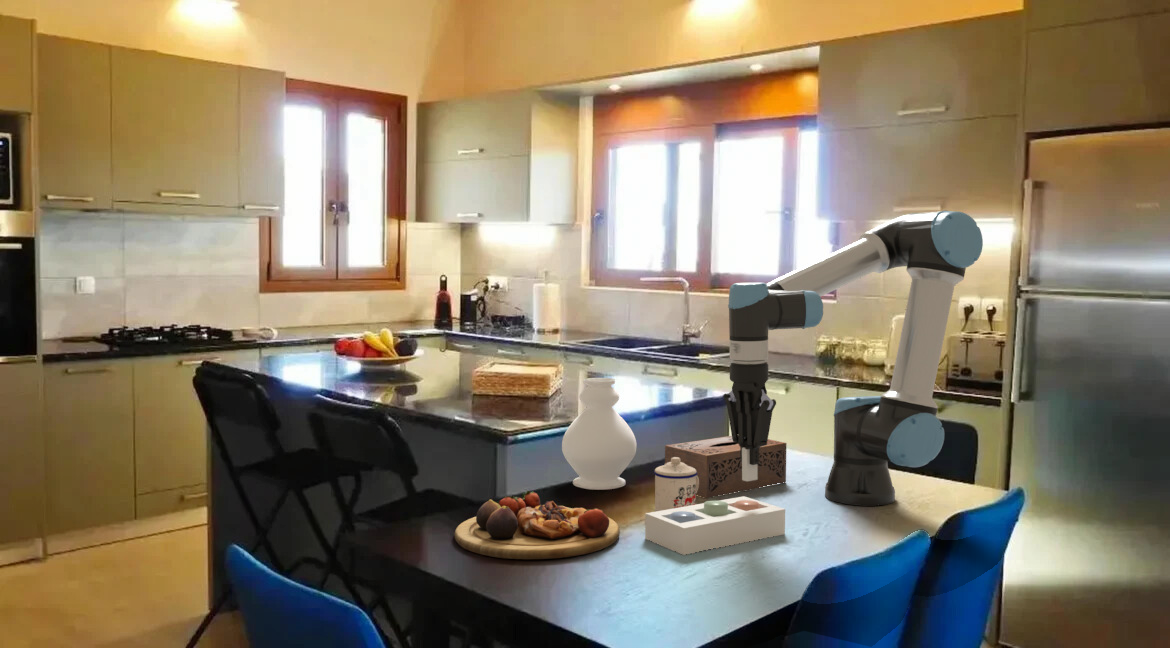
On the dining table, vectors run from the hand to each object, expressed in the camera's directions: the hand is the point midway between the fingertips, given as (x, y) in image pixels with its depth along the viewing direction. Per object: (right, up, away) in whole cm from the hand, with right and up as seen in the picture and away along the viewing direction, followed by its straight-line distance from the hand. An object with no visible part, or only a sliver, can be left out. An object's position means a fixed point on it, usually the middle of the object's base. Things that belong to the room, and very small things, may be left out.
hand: (749, 479), depth 191 cm
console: (-7, -10, -4) cm, 13 cm away
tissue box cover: (+1, -8, +39) cm, 40 cm away
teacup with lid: (-12, -9, +15) cm, 22 cm away
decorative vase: (-29, -8, +40) cm, 50 cm away
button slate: (-14, -9, -8) cm, 19 cm away
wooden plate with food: (-42, -11, -3) cm, 43 cm away
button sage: (-7, -8, -4) cm, 11 cm away
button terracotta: (-1, -9, 0) cm, 9 cm away
